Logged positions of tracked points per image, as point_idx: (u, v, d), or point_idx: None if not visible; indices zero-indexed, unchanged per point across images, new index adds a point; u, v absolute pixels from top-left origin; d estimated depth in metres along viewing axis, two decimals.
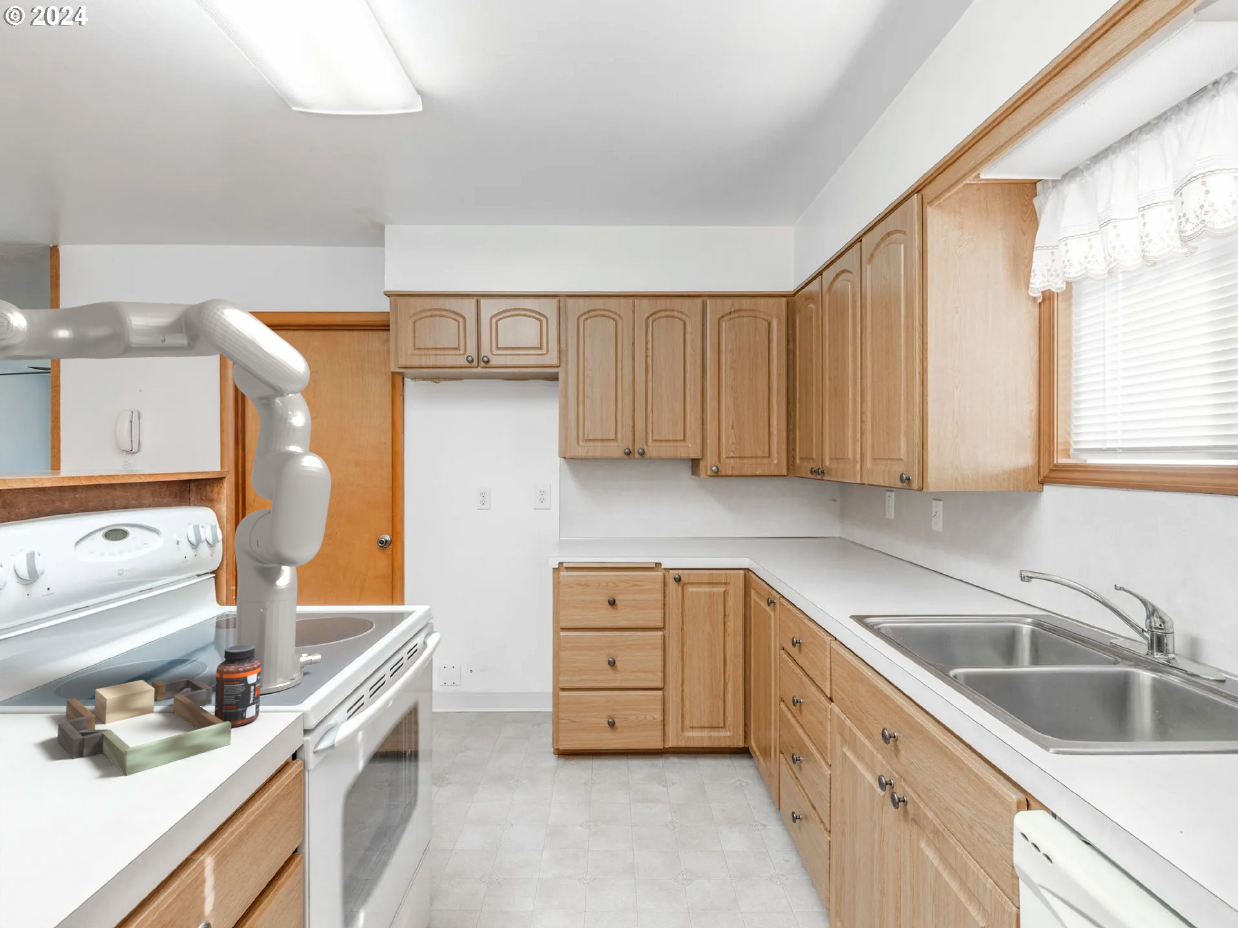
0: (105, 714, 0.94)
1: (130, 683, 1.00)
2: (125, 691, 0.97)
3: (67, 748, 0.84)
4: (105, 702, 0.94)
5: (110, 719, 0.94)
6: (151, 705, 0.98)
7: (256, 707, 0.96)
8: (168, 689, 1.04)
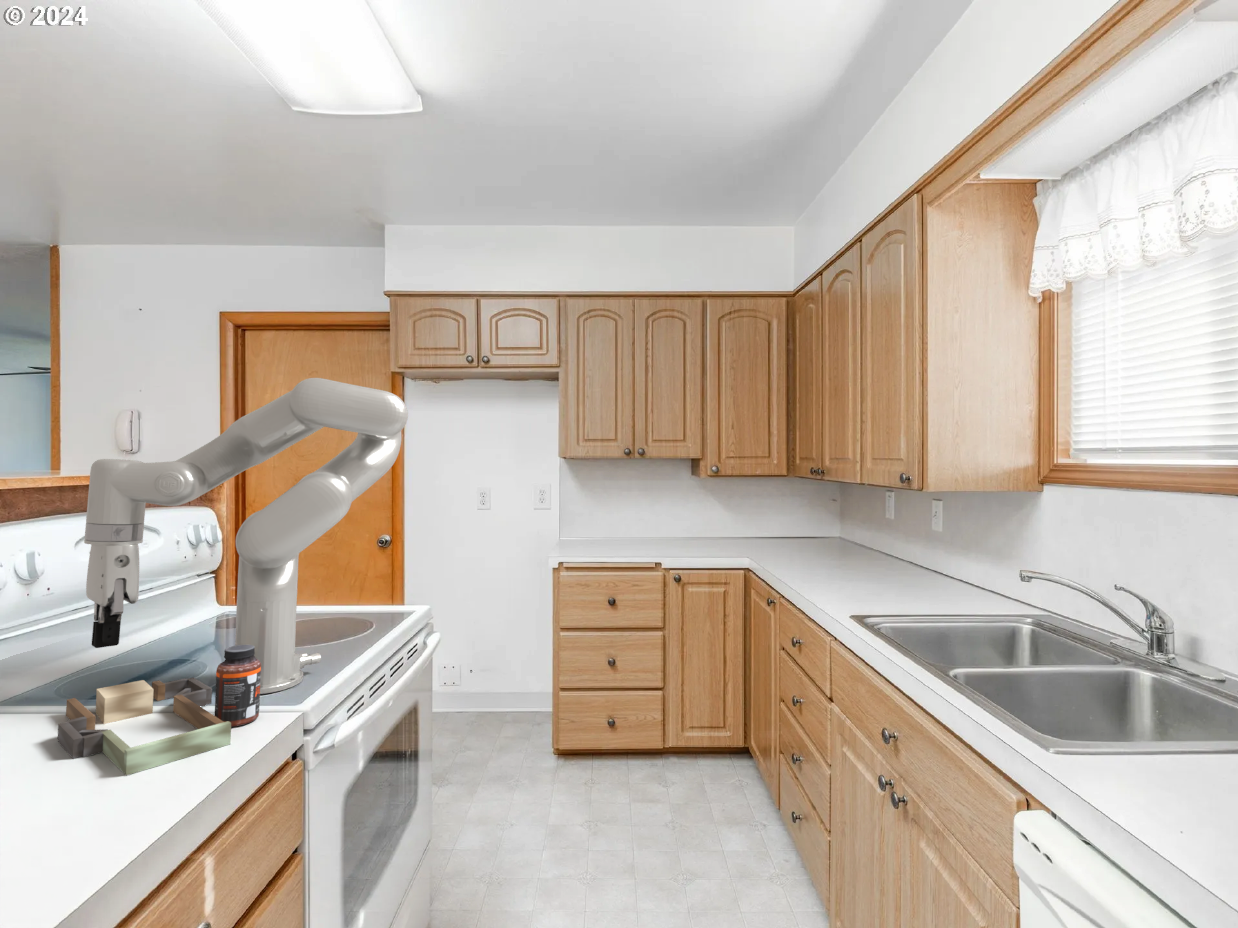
0: (103, 714, 0.94)
1: (132, 683, 1.00)
2: (124, 691, 0.97)
3: (67, 748, 0.84)
4: (104, 702, 0.94)
5: (108, 719, 0.94)
6: (150, 705, 0.98)
7: (256, 707, 0.96)
8: (168, 689, 1.04)
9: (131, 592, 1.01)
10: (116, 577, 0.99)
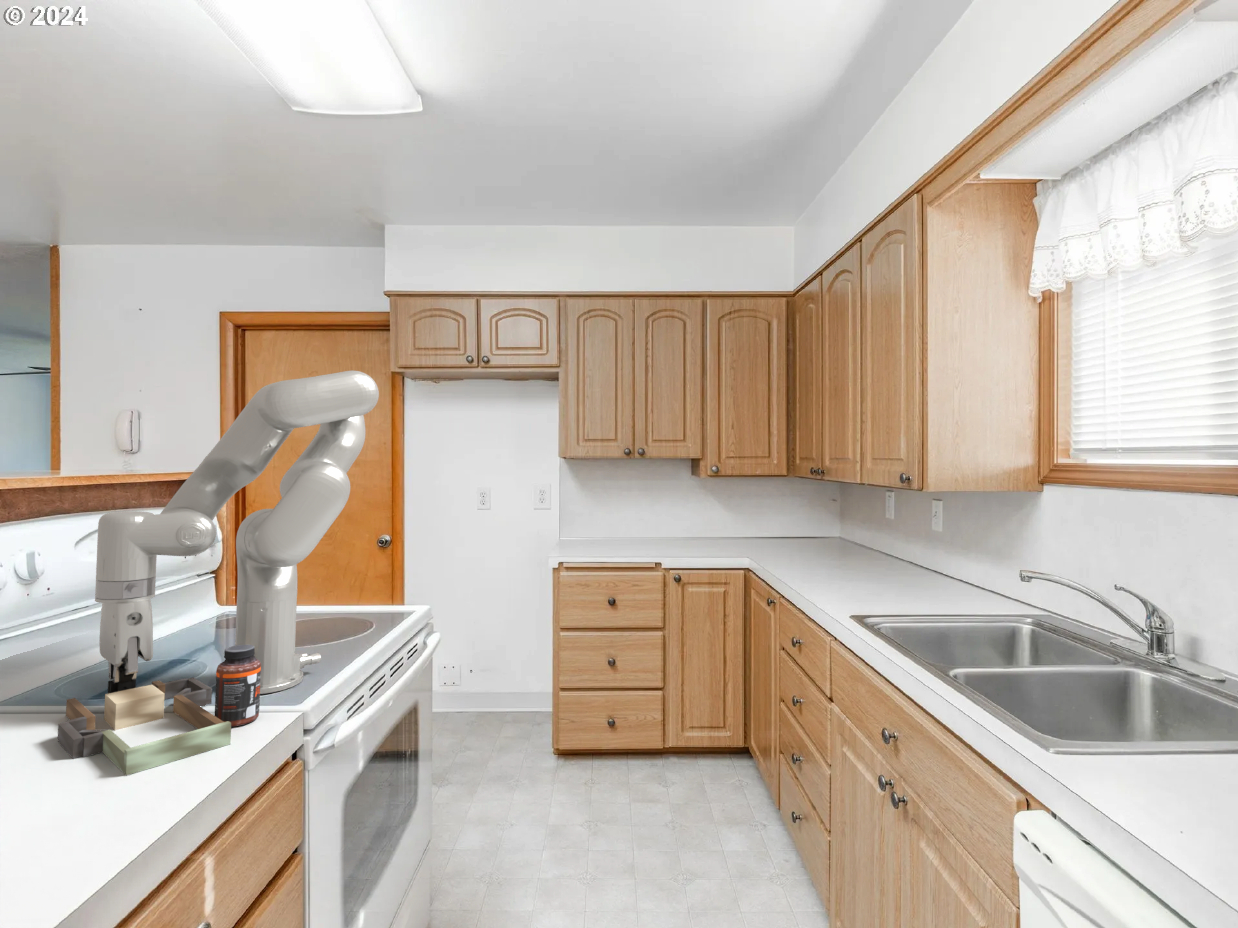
0: (114, 720, 0.92)
1: (140, 688, 0.98)
2: (134, 696, 0.95)
3: (67, 748, 0.84)
4: (114, 707, 0.92)
5: (119, 725, 0.92)
6: (161, 710, 0.96)
7: (256, 707, 0.96)
8: (168, 689, 1.04)
9: (145, 650, 0.97)
10: (129, 636, 0.95)
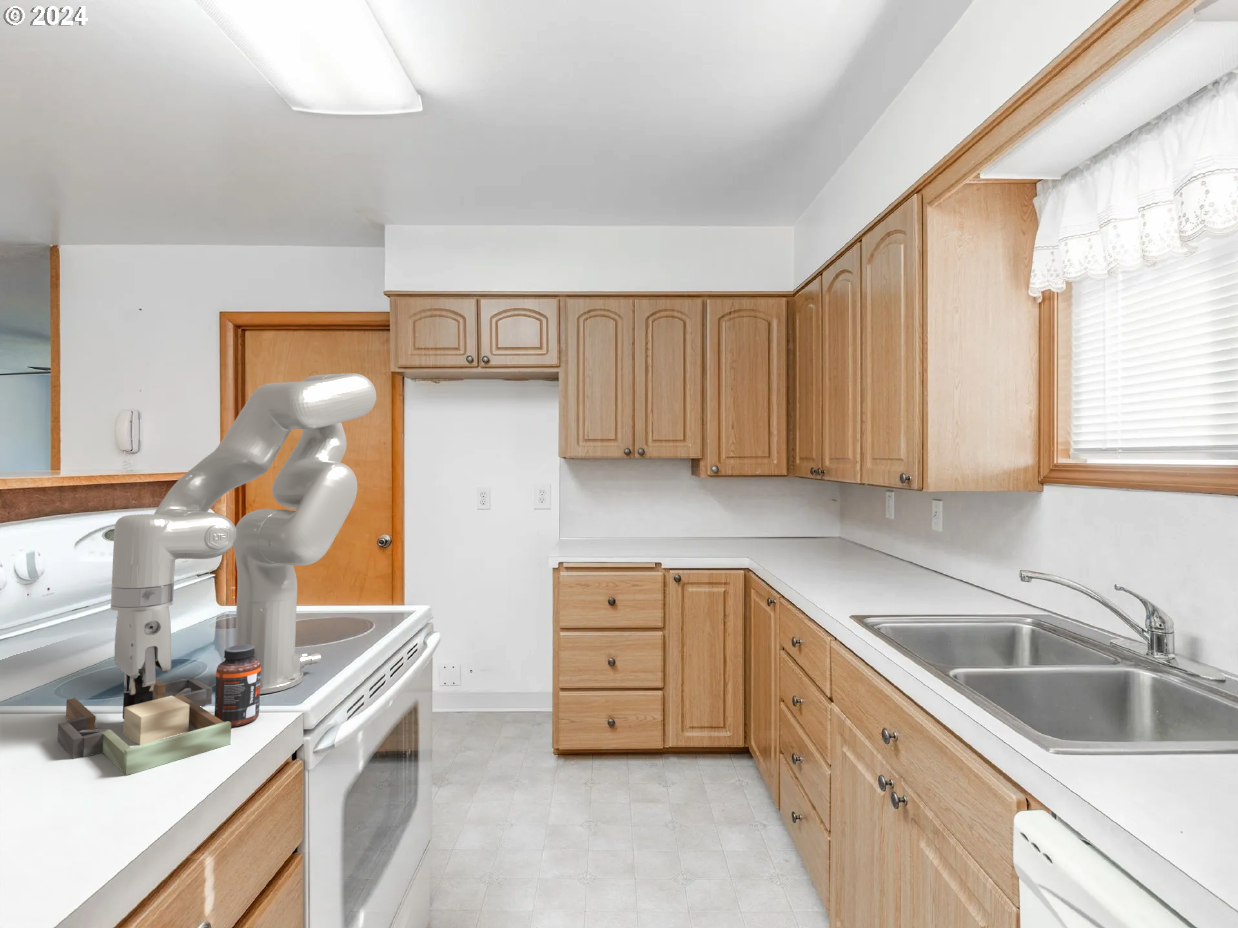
0: (139, 734, 0.87)
1: (161, 699, 0.94)
2: (158, 708, 0.90)
3: (67, 748, 0.84)
4: (139, 721, 0.88)
5: (144, 739, 0.88)
6: (186, 723, 0.92)
7: (256, 707, 0.96)
8: (168, 689, 1.04)
9: (163, 661, 0.92)
10: (147, 646, 0.90)
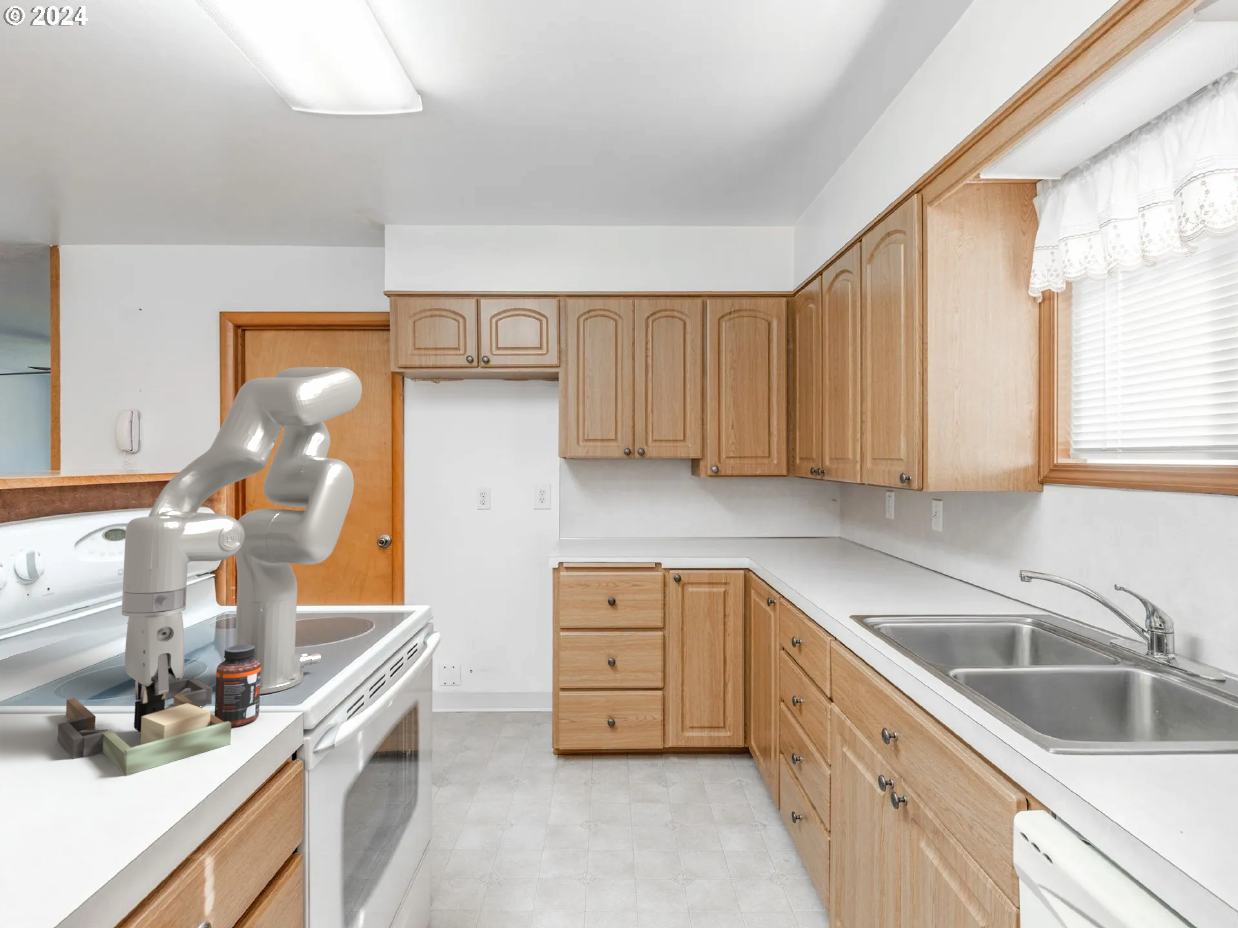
0: None
1: (178, 707, 0.91)
2: (179, 716, 0.88)
3: (67, 748, 0.84)
4: (162, 729, 0.85)
5: None
6: None
7: (256, 707, 0.96)
8: None
9: (176, 668, 0.89)
10: (159, 653, 0.87)
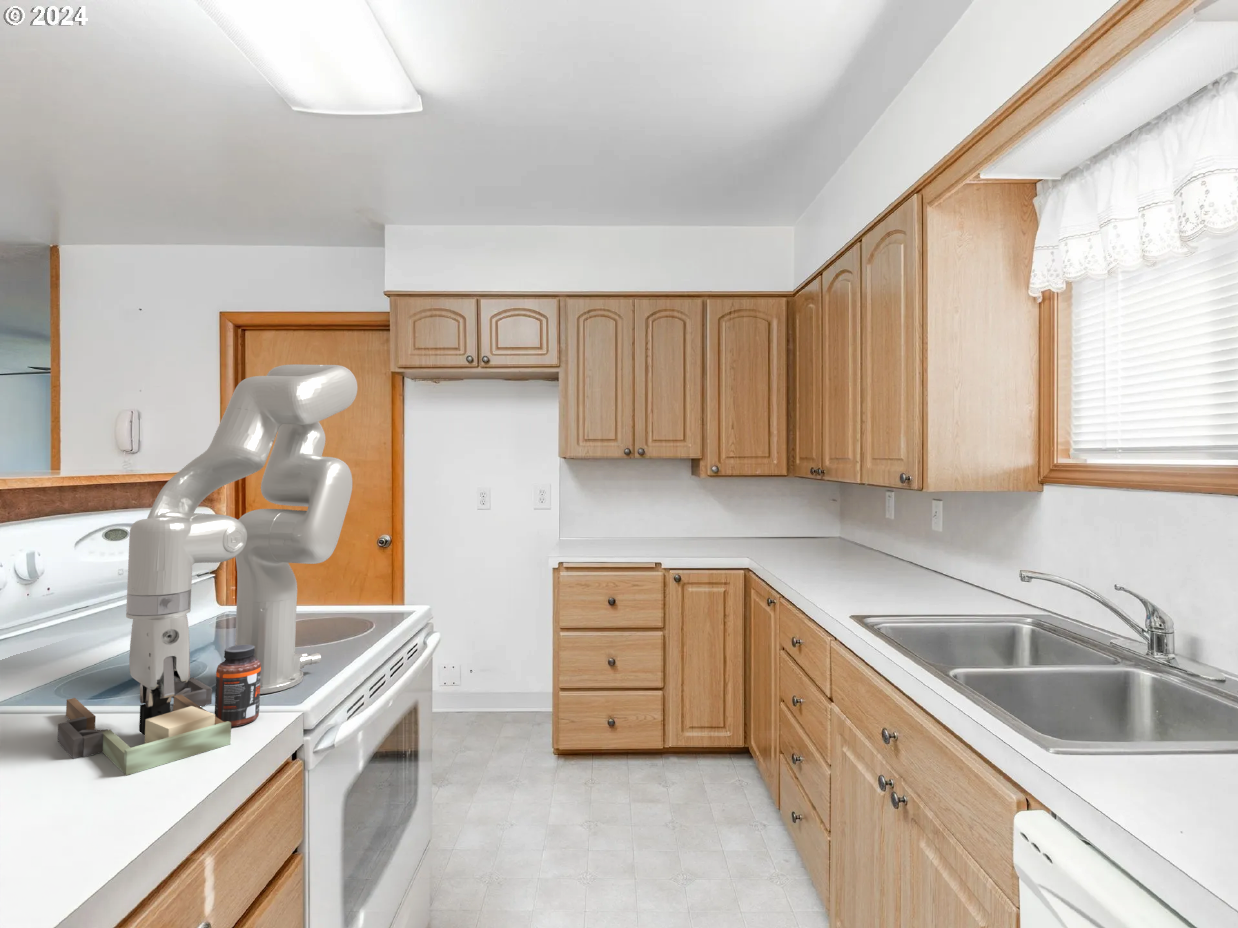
0: None
1: (182, 710, 0.90)
2: (183, 719, 0.87)
3: (67, 748, 0.84)
4: (166, 733, 0.84)
5: None
6: None
7: (256, 707, 0.96)
8: None
9: (182, 671, 0.88)
10: (165, 656, 0.86)
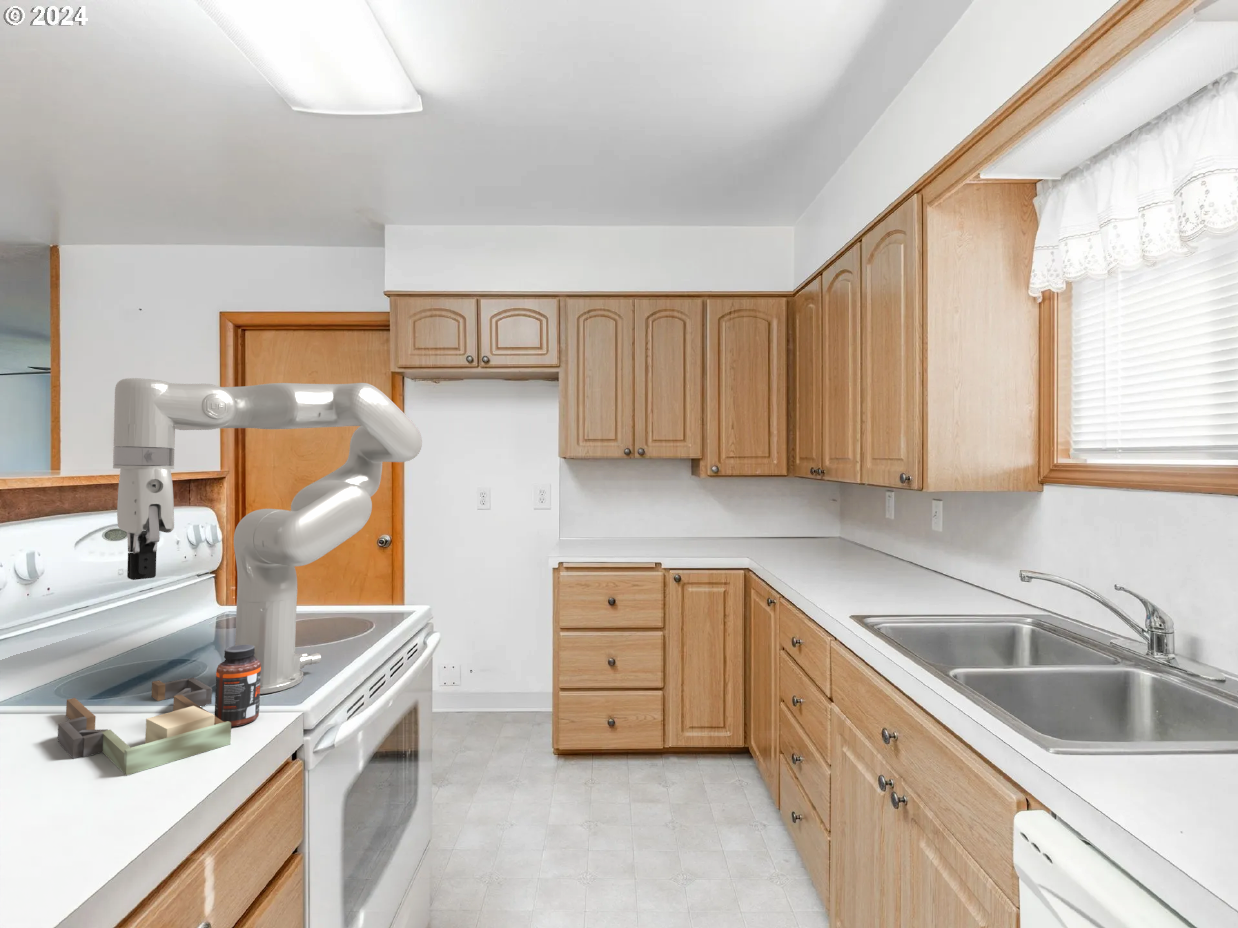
0: None
1: (183, 710, 0.90)
2: (183, 719, 0.87)
3: (67, 748, 0.84)
4: (164, 733, 0.84)
5: None
6: None
7: (256, 707, 0.96)
8: (168, 689, 1.04)
9: (166, 519, 0.94)
10: (150, 503, 0.93)
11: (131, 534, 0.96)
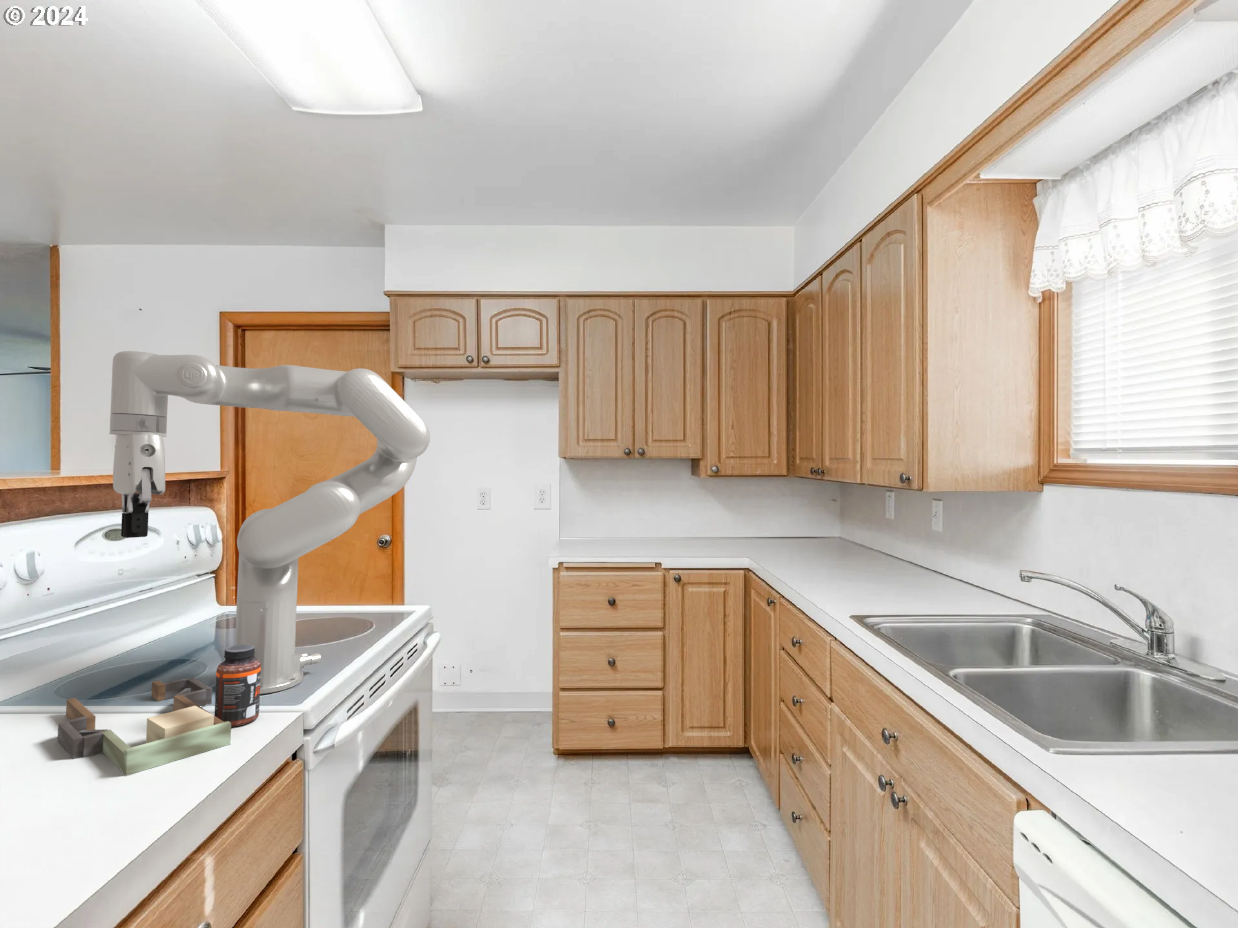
0: None
1: (184, 710, 0.90)
2: (182, 719, 0.87)
3: (67, 748, 0.84)
4: (163, 733, 0.84)
5: None
6: None
7: (256, 707, 0.96)
8: (168, 689, 1.04)
9: (158, 482, 1.02)
10: (143, 465, 1.00)
11: (125, 496, 1.03)
